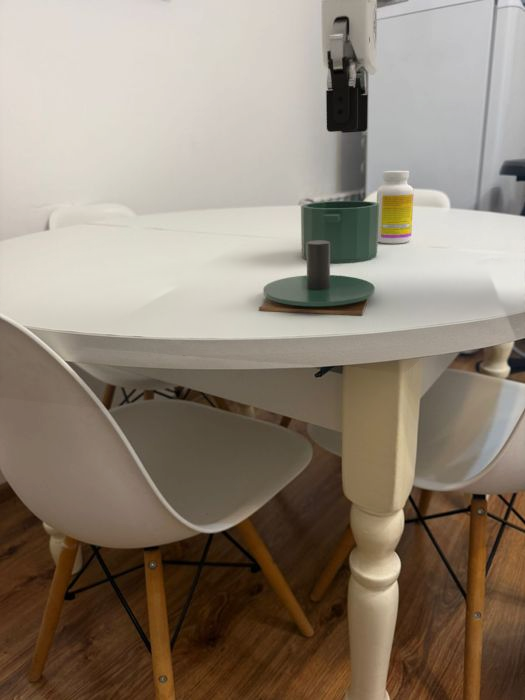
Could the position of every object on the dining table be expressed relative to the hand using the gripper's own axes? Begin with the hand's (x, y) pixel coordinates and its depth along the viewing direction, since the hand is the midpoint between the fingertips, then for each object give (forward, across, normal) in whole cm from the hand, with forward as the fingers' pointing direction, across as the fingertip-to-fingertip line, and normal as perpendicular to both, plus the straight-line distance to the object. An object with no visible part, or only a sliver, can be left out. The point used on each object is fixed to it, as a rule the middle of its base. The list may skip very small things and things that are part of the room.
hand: (348, 131), depth 61 cm
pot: (+19, +25, +5) cm, 32 cm away
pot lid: (+18, -3, +3) cm, 19 cm away
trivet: (+19, -3, +3) cm, 20 cm away
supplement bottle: (+20, +40, -3) cm, 45 cm away
